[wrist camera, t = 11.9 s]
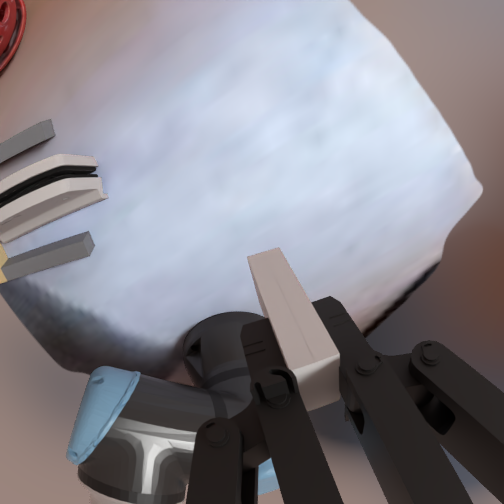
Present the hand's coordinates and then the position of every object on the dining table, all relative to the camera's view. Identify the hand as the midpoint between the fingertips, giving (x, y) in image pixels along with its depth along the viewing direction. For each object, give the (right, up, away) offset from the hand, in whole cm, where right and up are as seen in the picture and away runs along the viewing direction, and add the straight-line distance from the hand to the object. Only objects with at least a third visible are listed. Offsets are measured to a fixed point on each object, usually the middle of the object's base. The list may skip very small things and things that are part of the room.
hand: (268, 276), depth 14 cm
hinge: (-25, +8, +15) cm, 30 cm away
